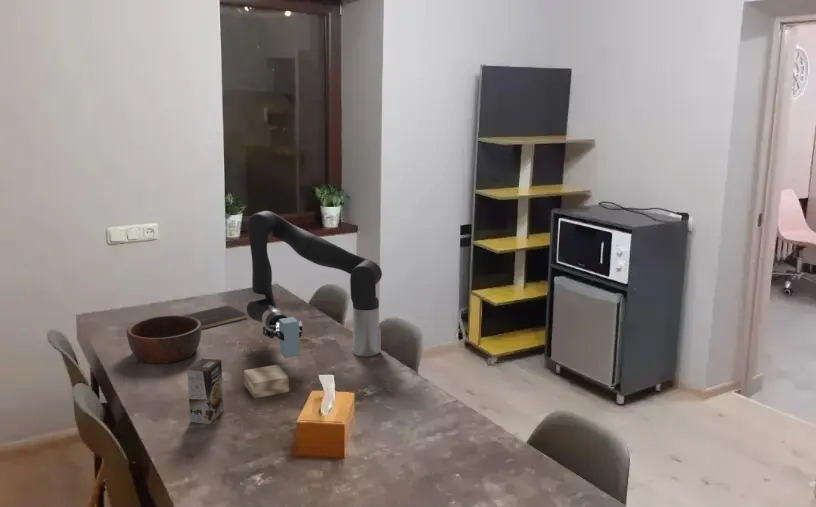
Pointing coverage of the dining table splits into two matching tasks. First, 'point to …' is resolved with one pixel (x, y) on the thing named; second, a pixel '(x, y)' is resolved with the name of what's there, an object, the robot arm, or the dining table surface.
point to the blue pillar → (289, 337)
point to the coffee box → (205, 390)
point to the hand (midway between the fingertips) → (291, 336)
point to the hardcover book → (217, 316)
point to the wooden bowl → (164, 338)
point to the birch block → (266, 381)
